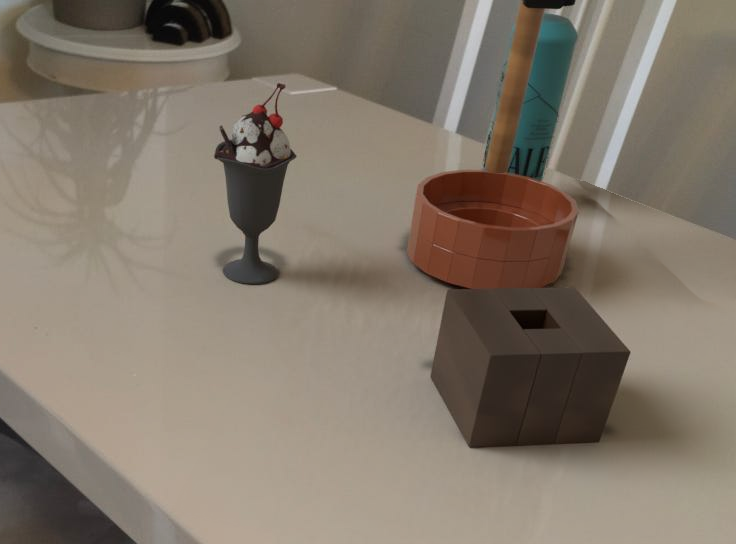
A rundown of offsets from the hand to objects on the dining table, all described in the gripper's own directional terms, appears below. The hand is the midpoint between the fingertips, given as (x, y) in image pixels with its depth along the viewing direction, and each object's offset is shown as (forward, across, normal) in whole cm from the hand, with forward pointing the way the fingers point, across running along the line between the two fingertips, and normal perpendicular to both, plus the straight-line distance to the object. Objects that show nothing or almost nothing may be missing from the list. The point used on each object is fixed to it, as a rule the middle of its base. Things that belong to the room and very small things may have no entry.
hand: (536, 1), depth 76 cm
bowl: (+21, 0, 0) cm, 21 cm away
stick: (+12, 0, 0) cm, 12 cm away
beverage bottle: (+21, +16, -8) cm, 28 cm away
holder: (+21, -25, +6) cm, 33 cm away
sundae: (+21, -1, +22) cm, 30 cm away
